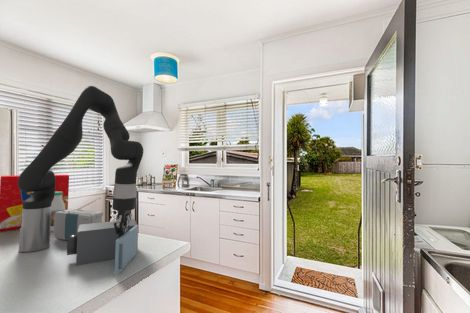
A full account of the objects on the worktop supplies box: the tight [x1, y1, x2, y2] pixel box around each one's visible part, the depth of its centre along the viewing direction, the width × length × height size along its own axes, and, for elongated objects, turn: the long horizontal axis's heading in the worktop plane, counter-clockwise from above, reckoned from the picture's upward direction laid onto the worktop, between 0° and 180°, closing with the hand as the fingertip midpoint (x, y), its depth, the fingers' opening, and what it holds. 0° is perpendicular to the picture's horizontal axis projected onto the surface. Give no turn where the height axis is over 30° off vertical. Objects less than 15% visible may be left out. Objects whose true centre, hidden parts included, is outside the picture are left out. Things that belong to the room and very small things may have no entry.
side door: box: [113, 224, 139, 276], centre depth 82 cm, size 17×2×11 cm, turn 3°
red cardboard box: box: [0, 174, 70, 233], centre depth 125 cm, size 28×8×28 cm, turn 134°
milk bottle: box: [50, 191, 65, 232], centre depth 119 cm, size 8×8×20 cm
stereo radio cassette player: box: [53, 197, 104, 241], centre depth 106 cm, size 21×8×20 cm, turn 76°
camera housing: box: [66, 218, 138, 266], centre depth 89 cm, size 23×10×13 cm, turn 121°
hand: (121, 243), depth 81 cm, fingers closed
